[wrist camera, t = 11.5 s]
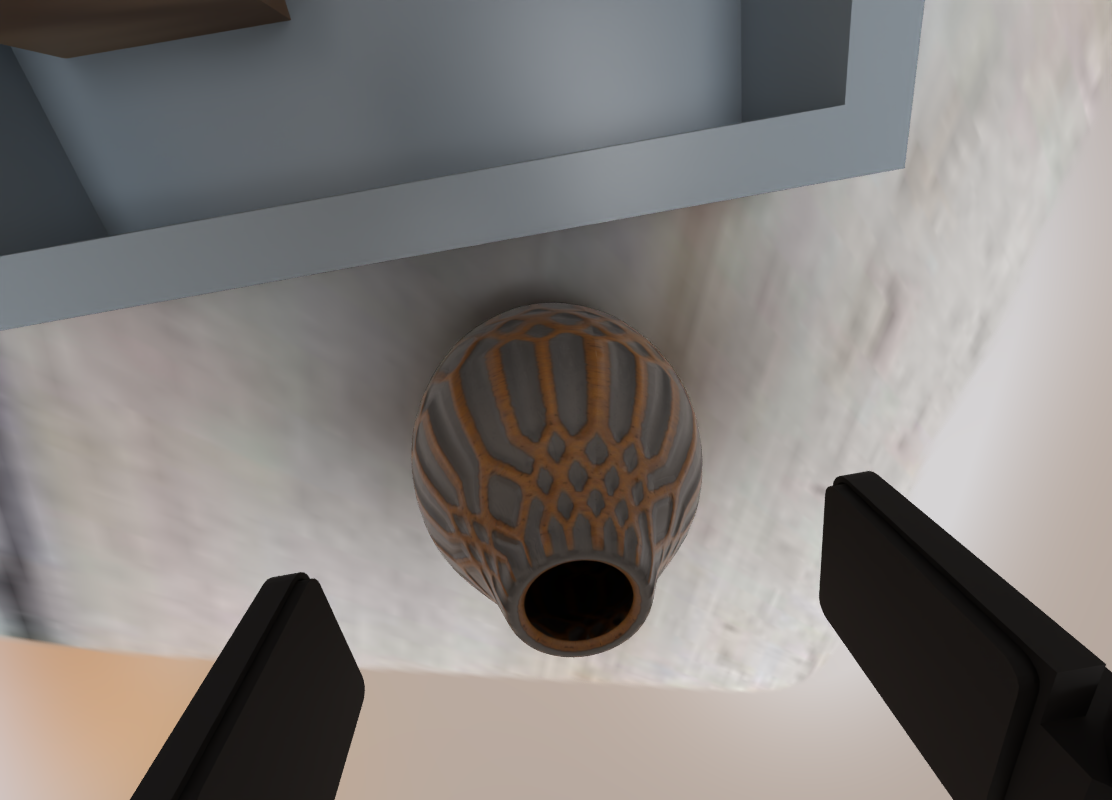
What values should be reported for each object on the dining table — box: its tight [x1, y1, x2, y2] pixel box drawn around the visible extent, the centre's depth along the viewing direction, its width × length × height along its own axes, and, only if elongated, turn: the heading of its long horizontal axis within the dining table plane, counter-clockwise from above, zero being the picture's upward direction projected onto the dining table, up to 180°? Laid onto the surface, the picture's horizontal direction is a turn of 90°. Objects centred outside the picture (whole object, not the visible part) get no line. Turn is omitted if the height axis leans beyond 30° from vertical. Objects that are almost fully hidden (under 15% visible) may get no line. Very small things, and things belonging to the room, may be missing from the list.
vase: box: [411, 303, 702, 657], centre depth 12 cm, size 7×7×9 cm
